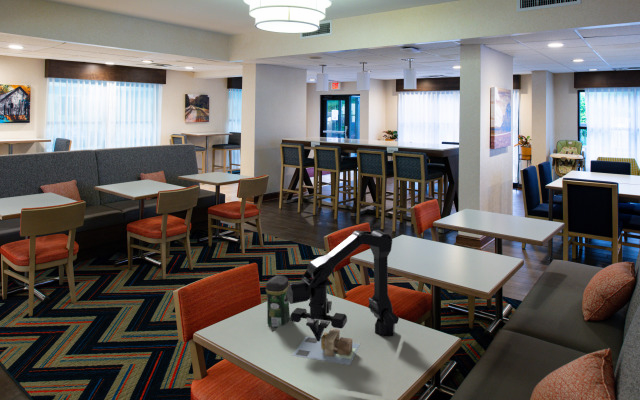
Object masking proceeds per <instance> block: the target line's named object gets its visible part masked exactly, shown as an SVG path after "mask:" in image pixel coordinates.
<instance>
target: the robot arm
mask: <svg viewBox="0 0 640 400" xmlns="http://www.w3.org/2000/svg"><path fill="white" fill-rule="evenodd" d="M363 245H367V246H369V248H370V250H371V252H372V255H373V286H374V287H373V289H374V292H373V295H372V297H368V307H367V308H368V309H369V310H370V312H371V313H372V314H373V315H374V317H375V318H376V321H375V323H374V333H375V334H377V335H379V336H382V337H386V338H387V337H394V335H395V333H396V332H395V331H396V329H395V328H396V324H398V322H399V321H400V320H399V319H400V318H399V316H398V315H396V314H395V313H394V310H393V309H394V308H393V306H392V305H393V304H392V302H391V299H390V296H389V291H388V290H389V289H388V287H389V284H388V283H389V282H388V279H389V278H388V273H389V272H388V271H389V270H388V257H389V255H390V253H391V251H392V246H393V238H392V236H391V235H390V234H389V233H386V232H383V231H381V230H378V229H375V230H373V231H370V230H362V231H361V230H355V231H353V232H352V233H351V235H349V236H348V237H347V238H346V239H344V240H343V241H341V242H340V244H338V245H337V246H336V247H334V248H333V249H332V250H331V251H329V252H327V254H325V255H321V256H318V257H317V258H315V259H313V260H310V262H309V263H308V264H307V268H306V270H305V272H304V273H303V275H302V276H301V279H300V280H301V281H295V282H293V281H292V282H288V284H289V287H288V289H287V297H288V301H289V305H293V304H297V303H298V304H299V303H304V302H308V301H309V302H308V307H309V312H308V311H307V309H306V308H302V307H296V308H295V309H294V310H293V311H292V312H291V313H290V319H289V320H290V321H291V322H293V323H299V322H301V320H302V319H306V327H308V328H309V329H310V330H311V332H312V333H313V337H315V338H316V339H317V341H319V342H320V340H321V337H322V336H323V335H324V330H325V329H327V328H328V326H329V325H331V326H332V328H333V329H343V328H344V327H345V326H346V324H347V322H348V317H347V315H346V314H345V313H340V312H339V313H338V312H335V314H334V315H330V312H331V311H332V307H333V306H332V304H333V301H331V300H329V298H327V297H328V292H327V289H328V288H327V287H328V286H333V282H332V281H331V280H330V279H329V277H330V276H331V275H332V274H333V272H334V269H335V268H336V266H338V265H339V263H341V262H342V261H344V259H346V258H347V257H348V256H350V255H351V254H352V253H353V252H354V251H356V250H357V249H358V248H359V247H361V246H363ZM311 278H312V279H311Z"/></svg>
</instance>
